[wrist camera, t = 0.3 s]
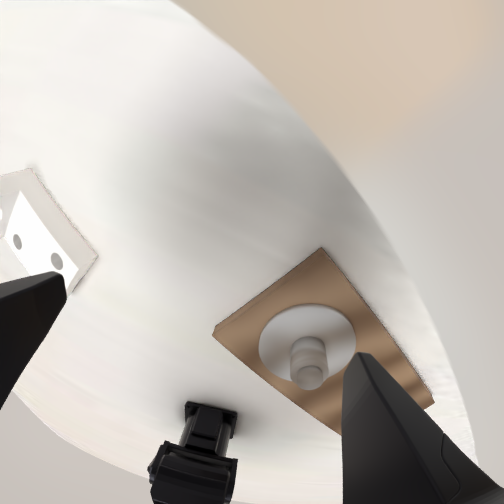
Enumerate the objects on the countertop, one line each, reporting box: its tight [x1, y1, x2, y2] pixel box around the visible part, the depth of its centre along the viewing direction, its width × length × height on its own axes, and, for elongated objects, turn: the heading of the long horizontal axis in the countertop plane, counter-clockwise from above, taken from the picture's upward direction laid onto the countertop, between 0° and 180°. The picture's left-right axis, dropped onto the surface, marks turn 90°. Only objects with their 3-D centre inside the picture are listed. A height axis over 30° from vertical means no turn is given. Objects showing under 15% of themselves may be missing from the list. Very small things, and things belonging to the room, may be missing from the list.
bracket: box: [0, 168, 98, 297], centre depth 21 cm, size 13×7×8 cm, turn 42°
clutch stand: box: [212, 248, 435, 435], centre depth 23 cm, size 26×12×6 cm, turn 43°
